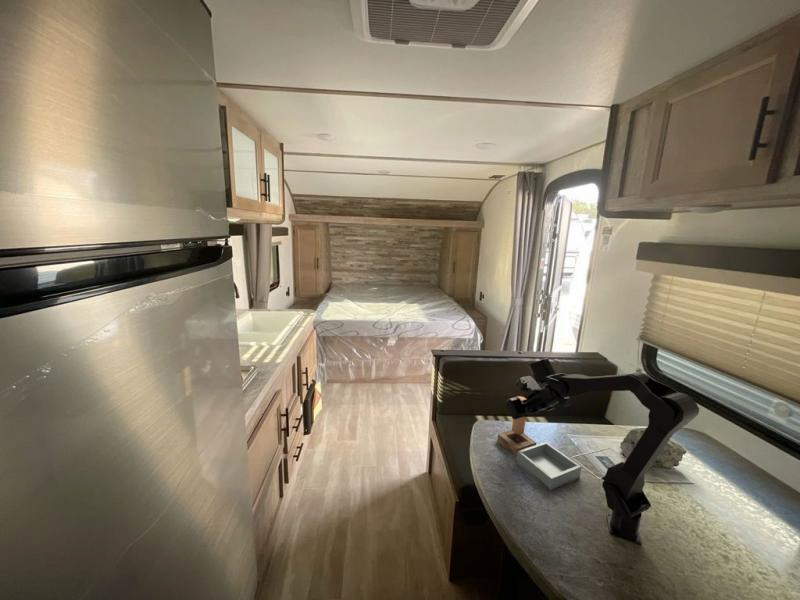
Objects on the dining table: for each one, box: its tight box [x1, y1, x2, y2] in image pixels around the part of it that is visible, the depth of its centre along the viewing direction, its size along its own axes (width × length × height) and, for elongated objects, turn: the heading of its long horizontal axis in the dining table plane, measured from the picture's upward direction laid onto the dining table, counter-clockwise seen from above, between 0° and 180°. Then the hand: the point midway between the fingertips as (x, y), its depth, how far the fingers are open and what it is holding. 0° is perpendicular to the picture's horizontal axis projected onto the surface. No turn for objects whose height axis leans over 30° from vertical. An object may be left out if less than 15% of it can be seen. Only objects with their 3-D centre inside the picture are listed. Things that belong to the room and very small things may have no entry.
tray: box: [515, 441, 582, 491], centre depth 100 cm, size 13×13×4 cm
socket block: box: [497, 429, 537, 458], centre depth 112 cm, size 9×9×3 cm
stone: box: [619, 427, 687, 469], centre depth 106 cm, size 10×12×15 cm
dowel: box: [511, 395, 527, 434], centre depth 110 cm, size 4×4×12 cm
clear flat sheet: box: [570, 447, 627, 480], centre depth 105 cm, size 11×1×18 cm
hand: (516, 411), depth 111 cm, fingers closed on dowel, 4 cm apart
